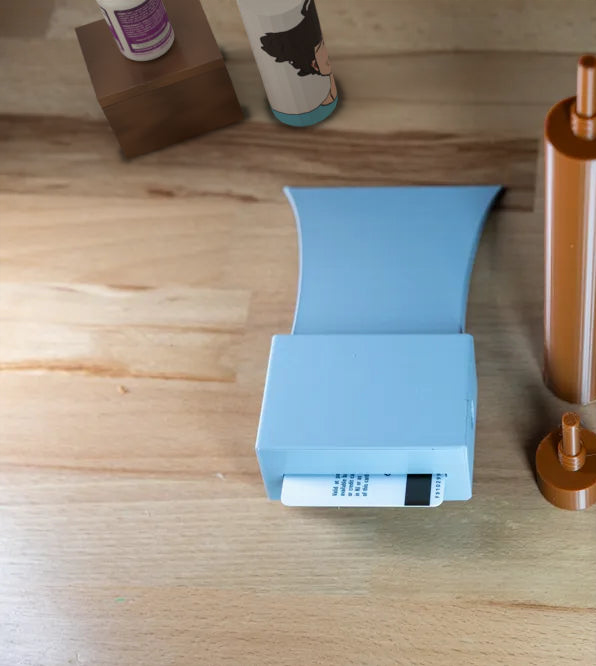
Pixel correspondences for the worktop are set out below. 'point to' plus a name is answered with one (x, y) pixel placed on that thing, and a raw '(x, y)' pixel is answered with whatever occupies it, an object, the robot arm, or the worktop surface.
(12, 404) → the worktop surface
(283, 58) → the cup
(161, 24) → the pill bottle
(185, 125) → the wooden lidded box
